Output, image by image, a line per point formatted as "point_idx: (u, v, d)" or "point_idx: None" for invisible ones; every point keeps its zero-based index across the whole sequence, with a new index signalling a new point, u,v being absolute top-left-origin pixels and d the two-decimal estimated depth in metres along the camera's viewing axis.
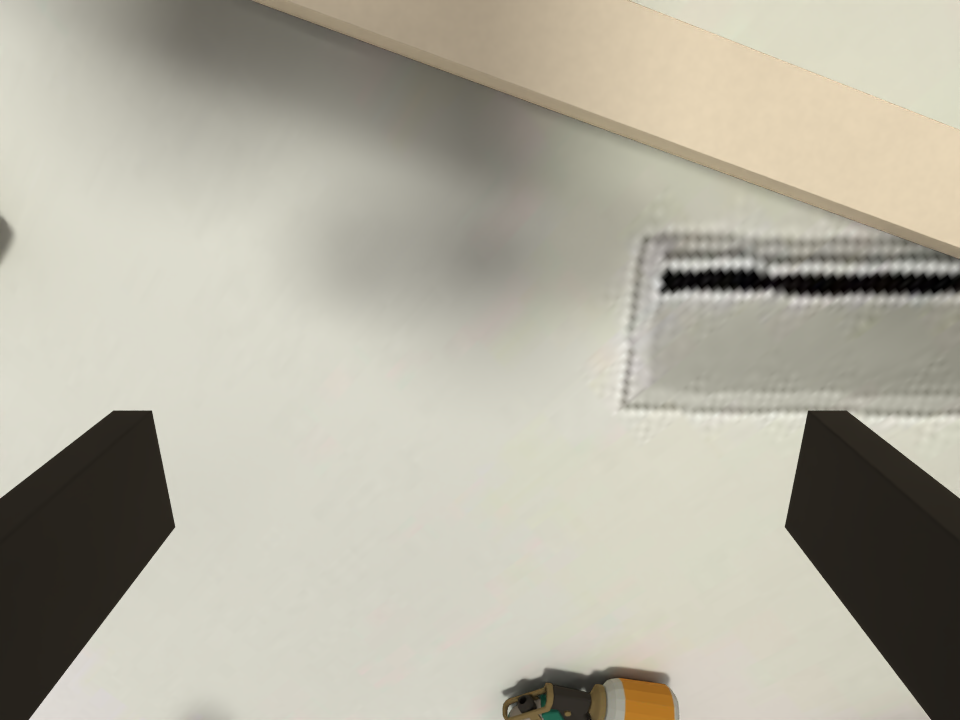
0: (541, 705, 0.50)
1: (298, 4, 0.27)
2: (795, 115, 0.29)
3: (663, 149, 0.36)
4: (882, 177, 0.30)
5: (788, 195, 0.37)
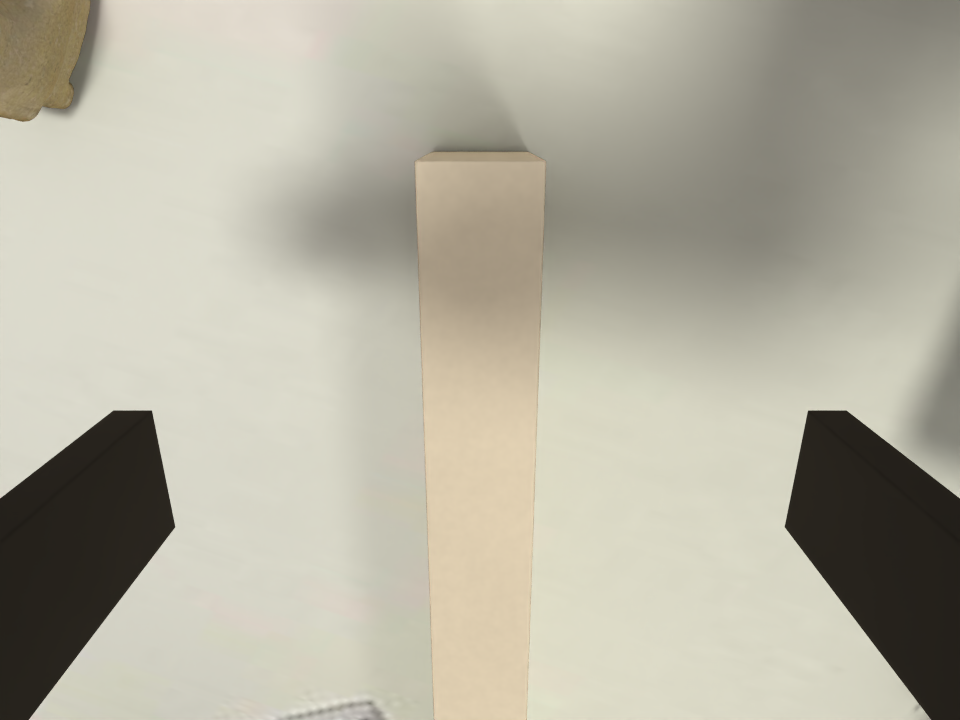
0: None
1: (427, 513, 0.28)
2: None
3: None
4: None
5: None
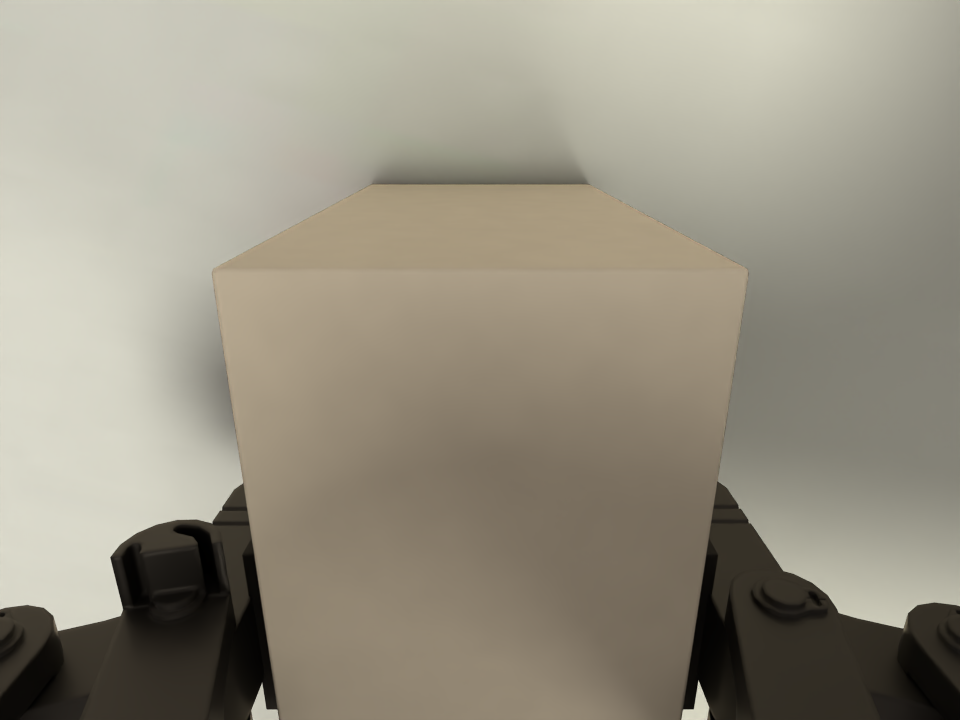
0: None
1: None
2: None
3: None
4: None
5: None
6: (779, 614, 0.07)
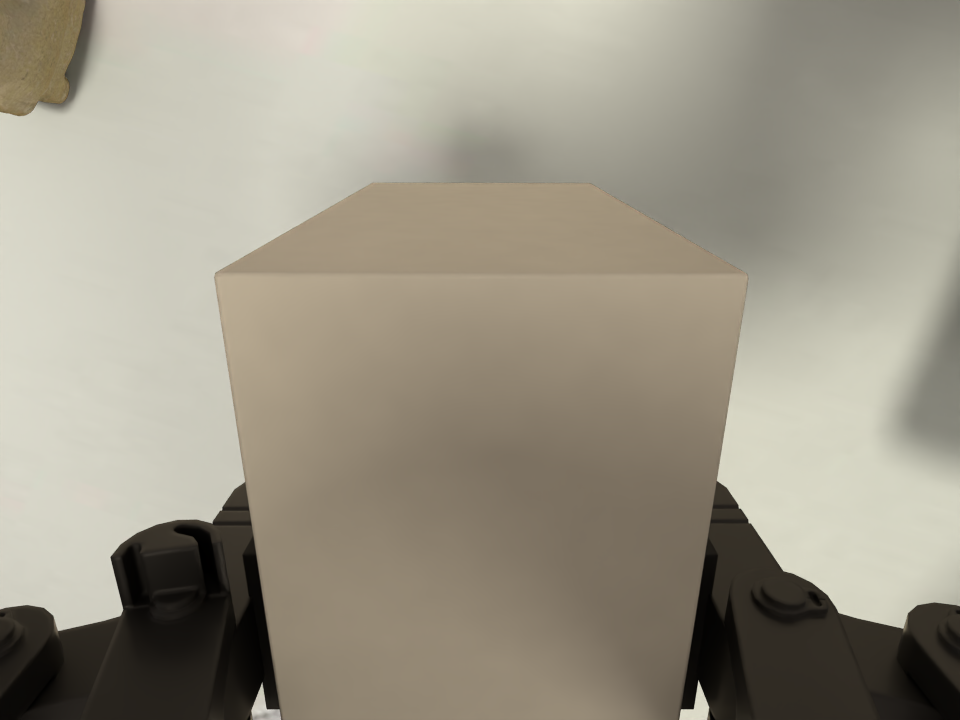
0: None
1: None
2: None
3: None
4: None
5: None
6: (778, 613, 0.07)
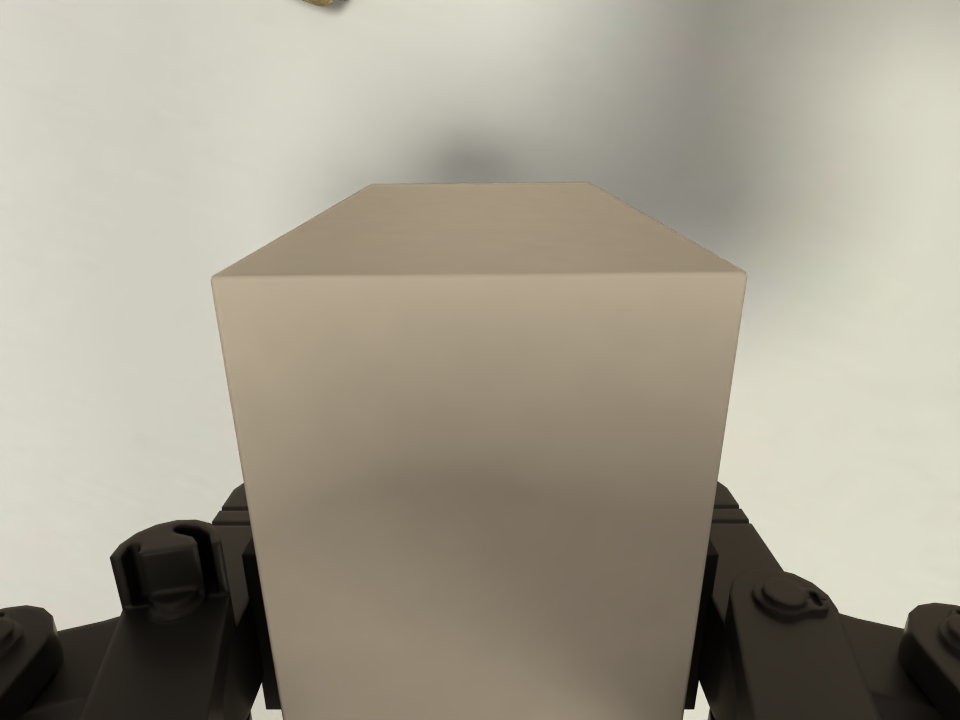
0: None
1: None
2: None
3: None
4: None
5: None
6: (778, 613, 0.07)
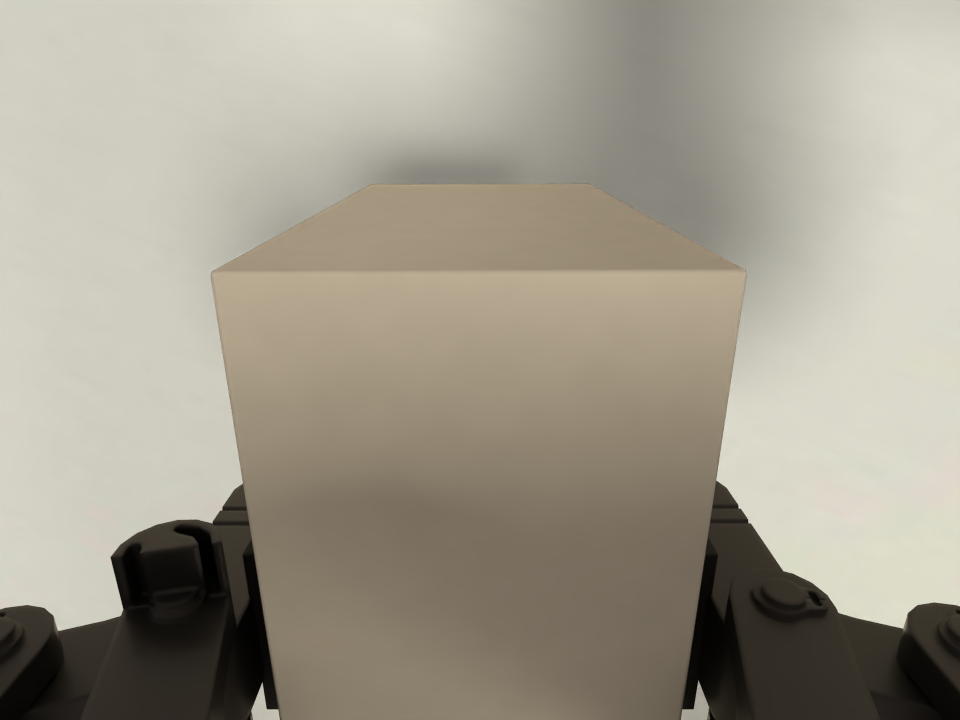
0: None
1: None
2: None
3: None
4: None
5: None
6: (778, 613, 0.07)
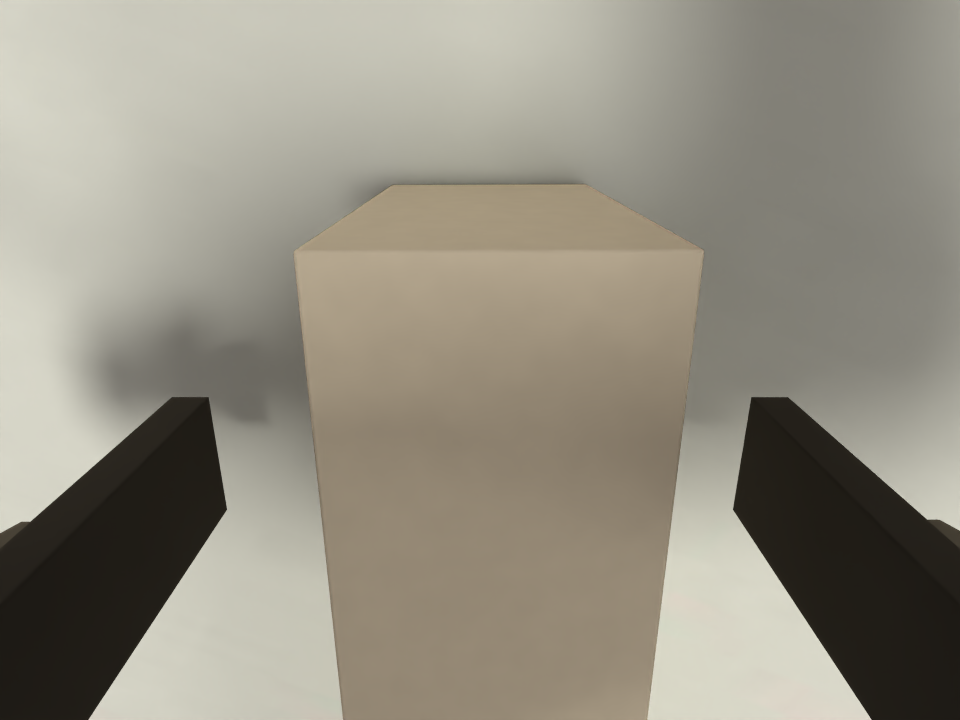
0: None
1: None
2: None
3: None
4: None
5: None
6: None
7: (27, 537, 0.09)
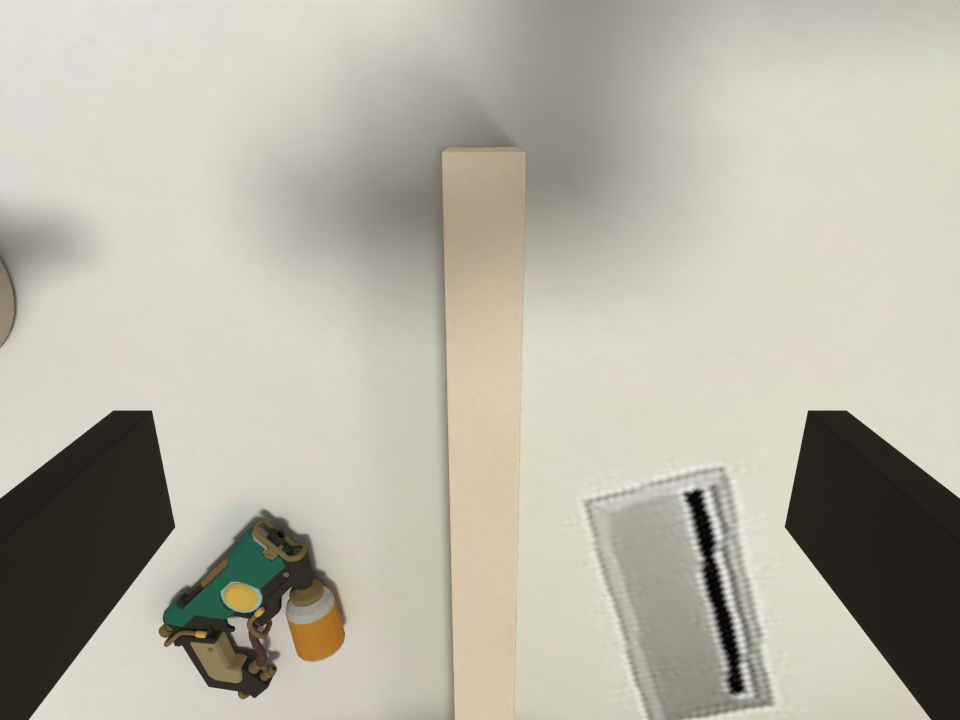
0: (282, 550, 0.52)
1: (447, 396, 0.40)
2: (490, 667, 0.48)
3: None
4: (476, 717, 0.50)
5: None
6: None
7: None
